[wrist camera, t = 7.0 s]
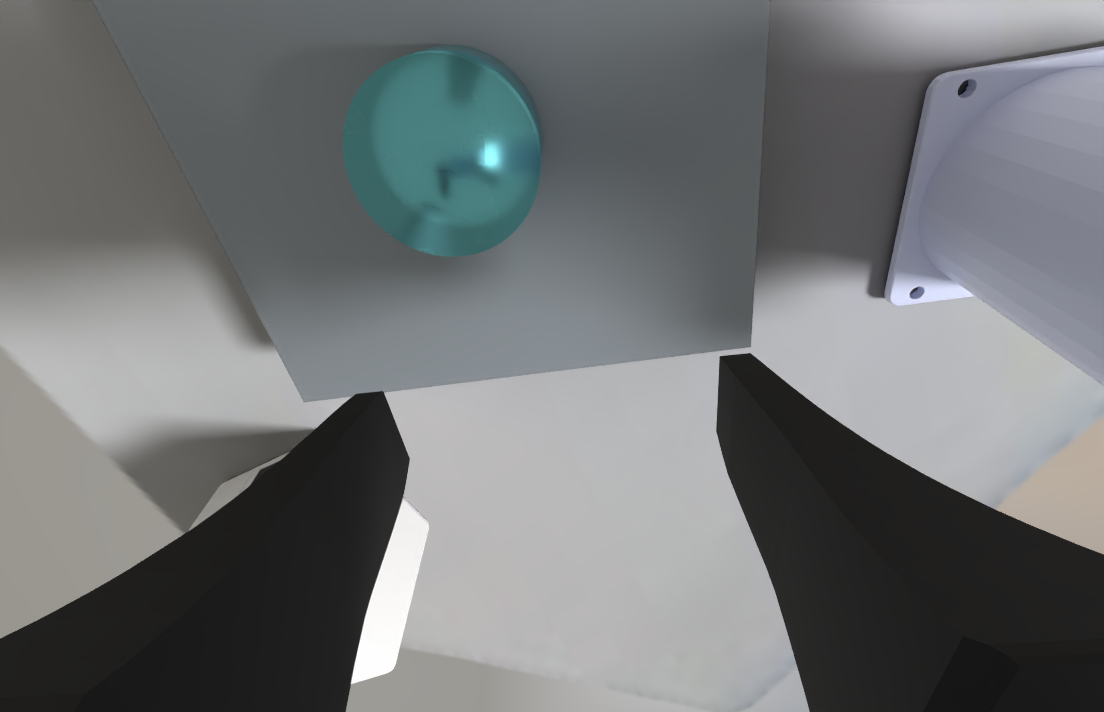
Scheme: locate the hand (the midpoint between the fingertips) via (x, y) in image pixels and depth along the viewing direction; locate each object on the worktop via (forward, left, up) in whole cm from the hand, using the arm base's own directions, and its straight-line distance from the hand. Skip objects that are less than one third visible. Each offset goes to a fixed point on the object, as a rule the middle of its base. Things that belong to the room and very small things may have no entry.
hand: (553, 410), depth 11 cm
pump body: (+2, -5, -10) cm, 11 cm away
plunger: (+2, -5, -10) cm, 11 cm away
